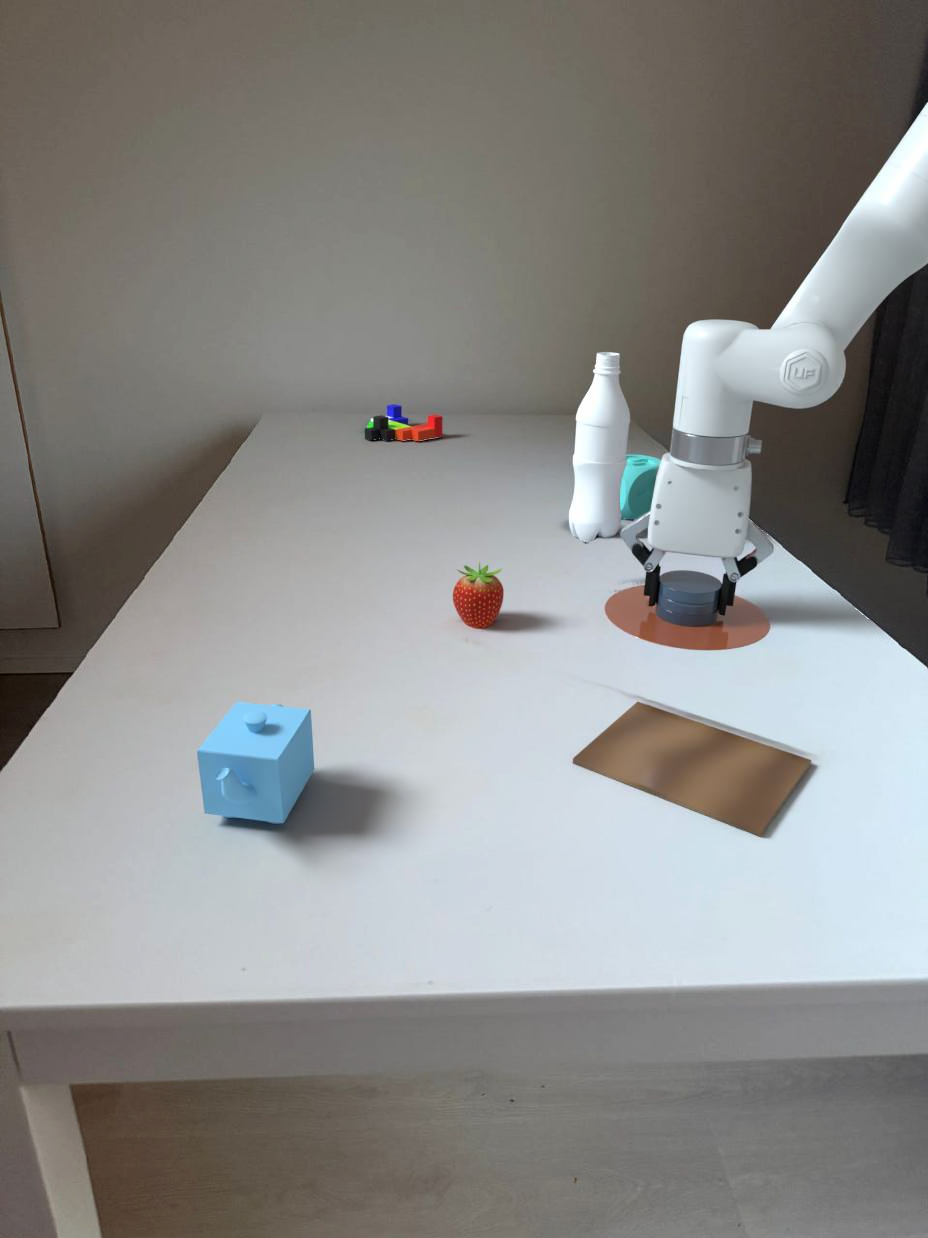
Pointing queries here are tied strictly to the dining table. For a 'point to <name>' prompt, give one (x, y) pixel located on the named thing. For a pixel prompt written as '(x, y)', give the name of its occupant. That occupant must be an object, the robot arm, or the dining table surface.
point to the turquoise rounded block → (638, 485)
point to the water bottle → (600, 453)
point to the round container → (688, 598)
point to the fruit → (478, 597)
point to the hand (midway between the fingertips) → (687, 605)
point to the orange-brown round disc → (725, 633)
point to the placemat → (696, 766)
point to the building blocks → (402, 426)
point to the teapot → (256, 762)
